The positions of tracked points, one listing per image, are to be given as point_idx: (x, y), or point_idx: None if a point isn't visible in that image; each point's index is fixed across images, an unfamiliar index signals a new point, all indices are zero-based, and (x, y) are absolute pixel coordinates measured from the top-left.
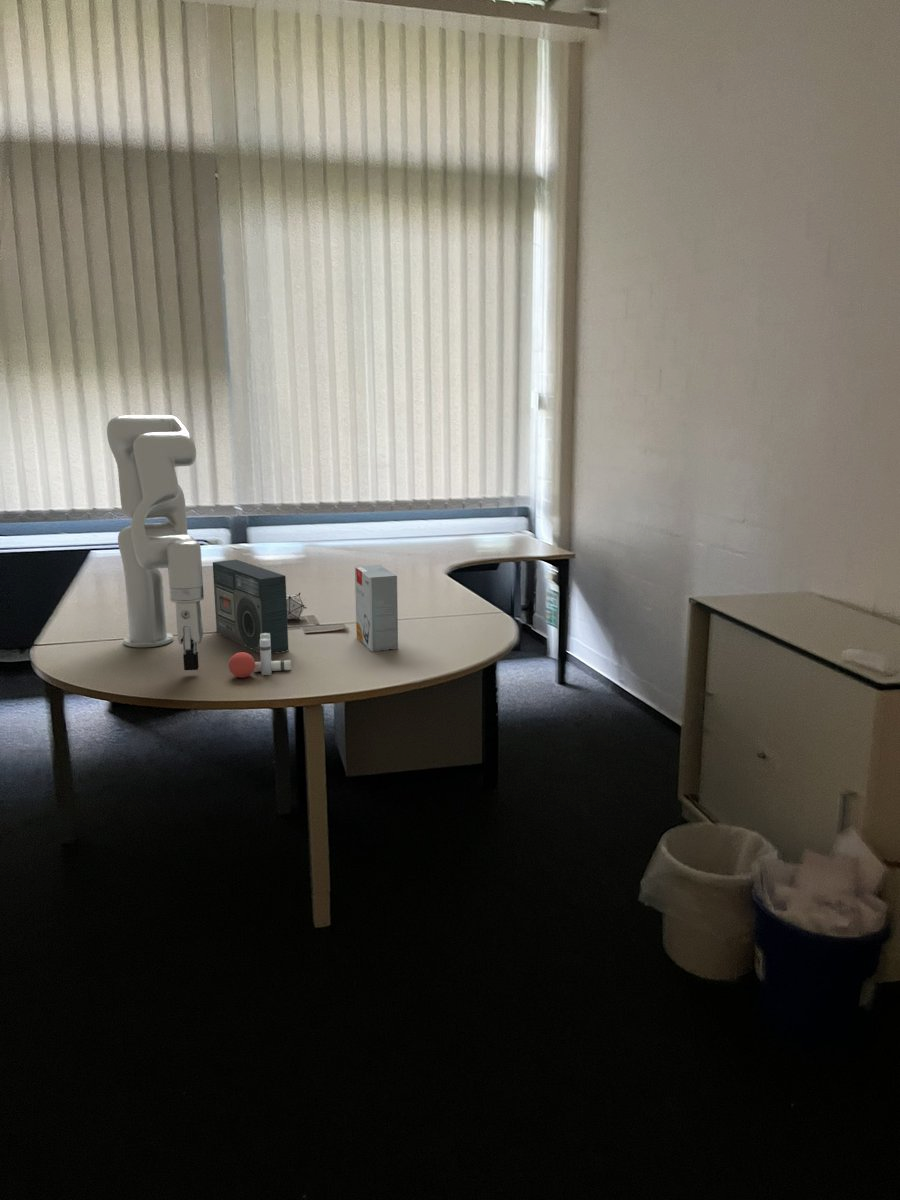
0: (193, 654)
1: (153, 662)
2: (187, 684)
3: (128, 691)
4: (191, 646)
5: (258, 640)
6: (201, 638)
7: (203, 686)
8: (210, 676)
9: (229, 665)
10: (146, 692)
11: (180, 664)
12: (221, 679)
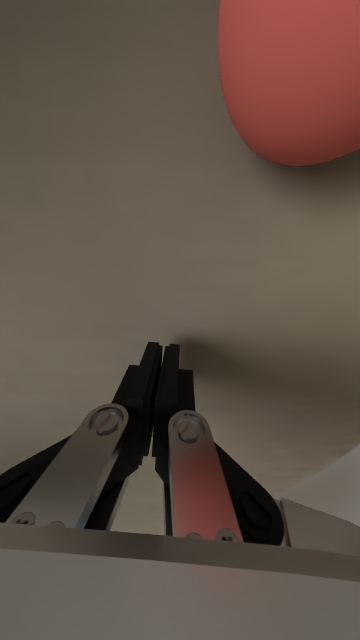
0: (194, 423)
1: (5, 446)
2: (274, 367)
3: (265, 487)
4: (279, 538)
5: None
6: (220, 607)
7: (331, 315)
8: (203, 284)
9: (354, 147)
10: (296, 459)
11: (24, 383)
12: (269, 234)
